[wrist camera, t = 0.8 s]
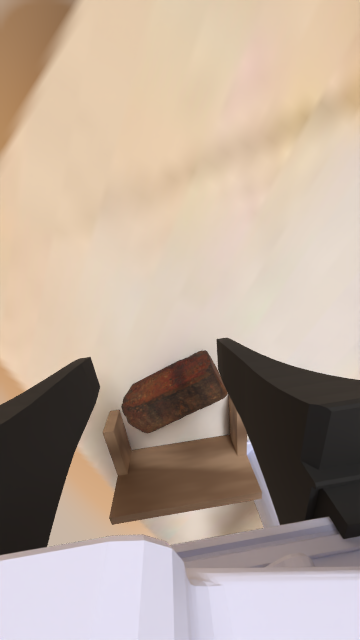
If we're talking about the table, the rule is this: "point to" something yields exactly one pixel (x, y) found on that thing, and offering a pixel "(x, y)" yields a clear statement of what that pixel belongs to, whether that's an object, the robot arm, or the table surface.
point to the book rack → (179, 473)
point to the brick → (173, 393)
